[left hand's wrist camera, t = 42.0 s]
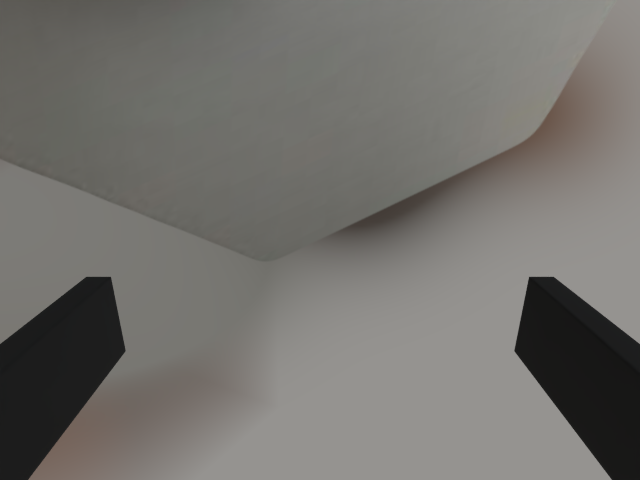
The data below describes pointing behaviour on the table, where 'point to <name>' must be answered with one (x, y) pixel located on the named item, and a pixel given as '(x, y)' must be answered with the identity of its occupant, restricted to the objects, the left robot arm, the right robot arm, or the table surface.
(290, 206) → the table surface
